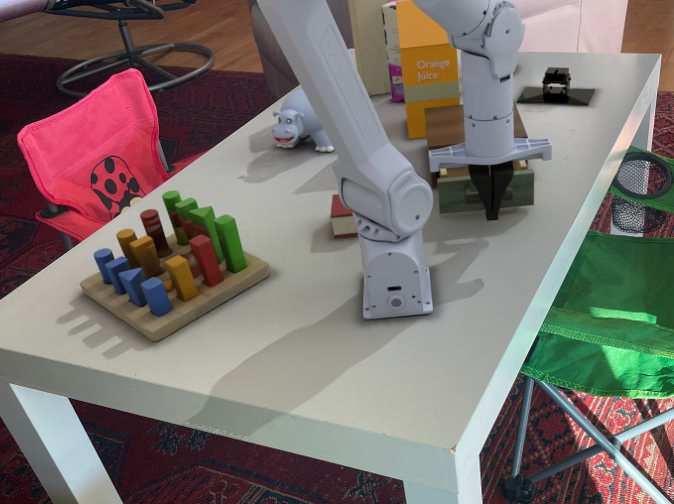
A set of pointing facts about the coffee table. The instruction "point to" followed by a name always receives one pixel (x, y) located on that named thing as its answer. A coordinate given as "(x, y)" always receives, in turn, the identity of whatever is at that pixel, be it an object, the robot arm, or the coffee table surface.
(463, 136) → the cabinet
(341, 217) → the book
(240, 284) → the peg board
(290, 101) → the hippopotamus toy
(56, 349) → the coffee table surface
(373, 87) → the toy refrigerator
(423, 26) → the orange juice
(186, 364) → the coffee table surface
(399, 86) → the candy bar box
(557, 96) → the build plate
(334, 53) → the robot arm
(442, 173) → the drawer
